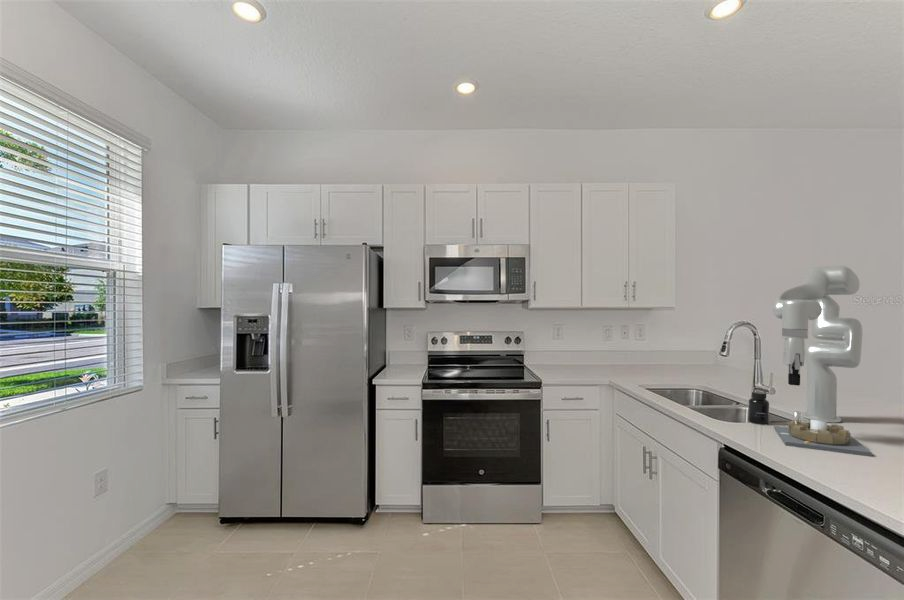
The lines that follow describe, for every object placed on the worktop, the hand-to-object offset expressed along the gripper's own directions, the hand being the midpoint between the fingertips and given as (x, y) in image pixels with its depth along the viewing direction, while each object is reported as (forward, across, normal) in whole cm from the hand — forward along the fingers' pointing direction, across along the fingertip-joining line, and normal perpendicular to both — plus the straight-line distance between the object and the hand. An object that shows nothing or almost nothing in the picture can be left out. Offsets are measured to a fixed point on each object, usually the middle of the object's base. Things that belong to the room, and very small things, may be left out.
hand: (794, 384), depth 163 cm
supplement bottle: (+18, -14, -9) cm, 25 cm away
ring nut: (+17, +5, +6) cm, 18 cm away
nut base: (+18, +5, +6) cm, 20 cm away
